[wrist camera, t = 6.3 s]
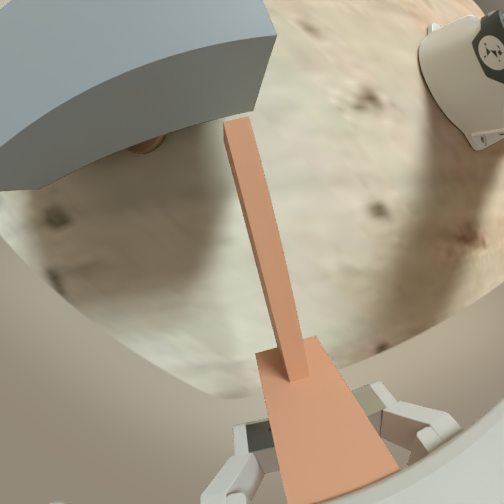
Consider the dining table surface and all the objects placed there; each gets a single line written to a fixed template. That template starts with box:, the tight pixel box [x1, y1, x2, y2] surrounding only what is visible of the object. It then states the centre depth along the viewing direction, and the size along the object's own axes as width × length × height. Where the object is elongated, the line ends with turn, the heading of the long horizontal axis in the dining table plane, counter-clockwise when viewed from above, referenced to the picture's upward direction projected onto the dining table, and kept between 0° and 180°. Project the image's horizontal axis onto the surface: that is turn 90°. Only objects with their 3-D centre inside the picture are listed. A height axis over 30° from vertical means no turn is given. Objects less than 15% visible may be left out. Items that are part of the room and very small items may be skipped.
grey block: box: [0, 0, 277, 191], centre depth 13 cm, size 18×12×15 cm, turn 105°
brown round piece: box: [125, 134, 166, 154], centre depth 20 cm, size 4×4×2 cm
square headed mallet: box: [223, 117, 400, 504], centre depth 7 cm, size 3×12×9 cm, turn 15°
